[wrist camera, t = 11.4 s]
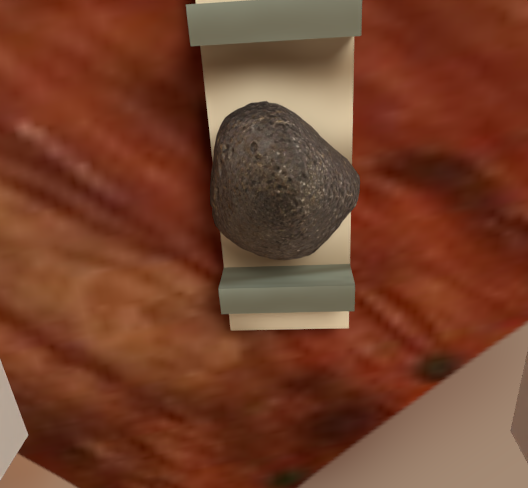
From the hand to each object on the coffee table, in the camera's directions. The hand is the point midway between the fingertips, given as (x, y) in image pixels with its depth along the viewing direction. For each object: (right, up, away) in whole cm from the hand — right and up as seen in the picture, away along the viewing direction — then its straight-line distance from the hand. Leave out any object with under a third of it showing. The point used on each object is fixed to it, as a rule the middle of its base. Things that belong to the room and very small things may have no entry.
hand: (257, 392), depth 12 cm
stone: (+1, +8, +20) cm, 21 cm away
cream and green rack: (+1, +10, +21) cm, 24 cm away
